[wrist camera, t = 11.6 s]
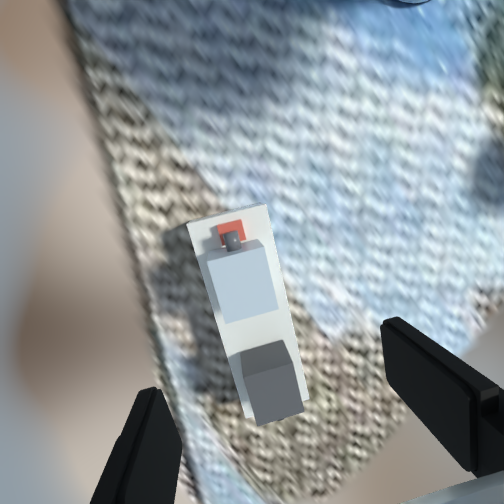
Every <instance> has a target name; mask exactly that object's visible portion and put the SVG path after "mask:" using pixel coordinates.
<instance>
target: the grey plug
mask: <svg viewBox="0 0 504 504" xmlns="http://www.w3.org/2000/svg"><path fill="white" fill-rule="evenodd" d="M223 238H224V242H225V245H226V247H224V248H220V249H216V250H213V251H209V253H208V258H207V264H208V267H209V271H210V274H211V278H212V281H213V284H214V288H215V291H216V294H217V298H218V301H219V304H220V308H221V311H222V315H223V318H224V321H225V324H228V323H232V322H235V321H239V320H242V319H246V318H250V317H253V316H257V315H260V314H264V313H267V312H271V311H274V310H278V309H279V307H278V303H277V299H276V295H275V290H274V286H273V282H272V278H271V273H270V269H269V265H268V260H267V256H266V252H265V248H264V246H263V245H262V243H261V242H260V241H259V240H258V239H255V240H251V241H247V242H243V243H241V242H240V238H239V234H238V231H237V230H234V231H230V232H226V233H224V234H223Z"/></svg>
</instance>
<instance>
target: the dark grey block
mask: <svg viewBox="0 0 504 504" xmlns="http://www.w3.org/2000/svg"><path fill="white" fill-rule="evenodd" d="M240 358H241V366H242V374H243V379H244V383H245V386H246V389H247V393H248V396H249V400H250V403H251V406H252V410H253V413H254V417H255V420H256V423H257V426H260V425H264V424H267V423H270V422H273V421H277V420H278V421H280V420H283V419H284V418H286V417H289V416H293V415H296V414H299V413H302V412H304V407H303V403H302V399H301V395H300V390H299V386H298V382H297V377H296V373H295V369H294V364H293V361H292V359H291V357H290V354H289V352H288V350H287V348H286V345H285V343H284V341H283V340H280V341H277V342H273V343H270V344H267V345H263V346H260V347H256V348H253V349H249V350H246V351H243V352H240Z"/></svg>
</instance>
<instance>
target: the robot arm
mask: <svg viewBox="0 0 504 504" xmlns="http://www.w3.org/2000/svg"><path fill="white" fill-rule="evenodd" d="M399 1H402V2H407V3H420V2H426V1H428V0H399ZM380 331H381V339H382V347H383V355H384V363H385V372H386V378H387V381H388V383H389V385H390V386H391V387H392V388H393V390H394V391H395V392H396V393H397V394H398V395H399V396H400V398H401V399H402V400H403V401H404V402H405V403H406V404H407V405H408V407H409V408H410V409H411V410H412V411H413V412H414V413H415V415H416V416H417V417H418V418H419V419H420V420H421V421H422V422H423V424H424V425H425V426H426V427H427V428H428V429H429V430H430V432H431V433H432V434H433V435H434V436H435V437H436V438H437V439H438V441H440V443H441V444H442V445H443V446H444V447H445V449H446V450H447V451H448V452H449V453H450V454H451V455H452V457H453V458H454V459H455V460H456V461H457V462H458V463H459V464H460V466H461V467H462V468H463V469H465V470H466V471H468V472H470V471H471V472H472V473H473V474H474V475H475V476H476V477H477V479H474V480H471V481H467V482H464V483H461V484H457V485H454V486H451V487H448V488H445V489H442V490H439V491H436V492H433V493H430V494H427V495H424V496H421V497H418V498H415V499H412V500H409V501H406V502H403V503H399V504H504V390H503V389H502V388H500V387H499V386H498V385H497V384H495V383H494V382H493V381H491V380H490V379H488V378H487V377H485V376H484V375H482V374H481V373H479V372H478V371H477V370H475V369H474V368H472V367H471V366H469V365H468V364H466V363H465V362H464V361H462V360H461V359H459V358H458V357H456V356H455V355H453V354H452V353H451V352H449V351H448V350H446V349H445V348H443V347H442V346H440V345H439V344H438V343H436V342H435V341H433V340H432V339H430V338H429V337H427V336H426V335H425V334H423V333H422V332H420V331H419V330H417V329H416V328H414V327H413V326H412V325H410V324H409V323H407V322H406V321H404V320H403V319H401V318H400V317H393V318H390V319H386V320H384V321H383V324H382V325H381V326H380ZM181 454H182V441H181V438H180V435H179V433H178V430H177V428H176V425H175V423H174V420H173V418H172V415H171V413H170V410H169V408H168V405H167V402H166V400H165V397H164V395H163V392H162V390H161V389H158V390H157V388H156V387H150V388H147V389H144V390H140V391H139V392H138V394H137V397H136V399H135V402H134V404H133V406H132V409H131V411H130V414H129V416H128V419H127V421H126V423H125V426H124V428H123V430H122V433H121V435H120V436H119V437H118V439H117V441H116V442H115V445H114V447H113V450H112V452H111V454H110V456H109V459H108V461H107V463H106V466H105V468H104V471H103V473H102V475H101V478H100V480H99V482H98V485H97V487H96V489H95V492H94V494H93V497H92V499H91V501H90V504H174V500H175V493H176V487H177V480H178V474H179V467H180V460H181Z"/></svg>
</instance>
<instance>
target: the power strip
mask: <svg viewBox="0 0 504 504" xmlns="http://www.w3.org/2000/svg"><path fill="white" fill-rule="evenodd" d="M187 228H188V231H189V234H190V237H191V241H192V244H193V247H194V250H195V254H196V257H197V260H198V263H199V267H200V270H201V273H202V277H203V280H204V283H205V286H206V290H207V293H208V296H209V299H210V303H211V306H212V309H213V312H214V316H215V319H216V322H217V326H218V329H219V332H220V335H221V339H222V342H223V345H224V348H225V352H226V355H227V358H228V362H229V365H230V368H231V371H232V375H233V378H234V381H235V384H236V388H237V391H238V394H239V397H240V401H241V404H242V407H243V411H244V414H245V417H246V418H249V417H253V416H254V413H253V410H252V406H251V403H250V400H249V396H248V393H247V389H246V386H245V383H244V379H243V374H242V366H241V358H240V352H243V351H246V350H249V349H253V348H256V347H260V346H263V345H267V344H270V343H273V342H277V341H280V340H283V341H284V343H285V345H286V348H287V350H288V352H289V354H290V357H291V359H292V361H293V364H294V369H295V373H296V377H297V382H298V386H299V390H300V395H301V399H302V401H305V400H308V399H309V394H308V390H307V385H306V381H305V376H304V372H303V367H302V363H301V358H300V354H299V349H298V345H297V340H296V336H295V331H294V327H293V322H292V318H291V313H290V309H289V304H288V300H287V295H286V291H285V286H284V282H283V277H282V273H281V268H280V264H279V259H278V255H277V250H276V246H275V241H274V237H273V232H272V228H271V223H270V219H269V214H268V210H267V205H266V204H264V203H257V204H253V205H249V206H245V207H241V208H237V209H233V210H229V211H225V212H221V213H217V214H213V215H209V216H205V217H201V218H198V219H194V220H191V221H189V222H188V223H187ZM234 230H237V231H238V234H239V238H240V242H241V243H243V242H247V241H251V240H255V239H258V240H259V241H260V242H261V243H262V245H263V246H264V248H265V252H266V256H267V260H268V265H269V269H270V273H271V278H272V282H273V286H274V290H275V295H276V299H277V303H278V307H279V309H278V310H274V311H271V312H267V313H264V314H260V315H257V316H253V317H250V318H246V319H242V320H239V321H235V322H232V323H228V324H225V321H224V318H223V315H222V311H221V308H220V304H219V301H218V298H217V294H216V291H215V288H214V284H213V281H212V278H211V274H210V271H209V267H208V264H207V258H208V253H209V251H213V250H216V249H220V248H224V247H226V245H225V242H224V238H223V234H224V233H226V232H230V231H234Z"/></svg>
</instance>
